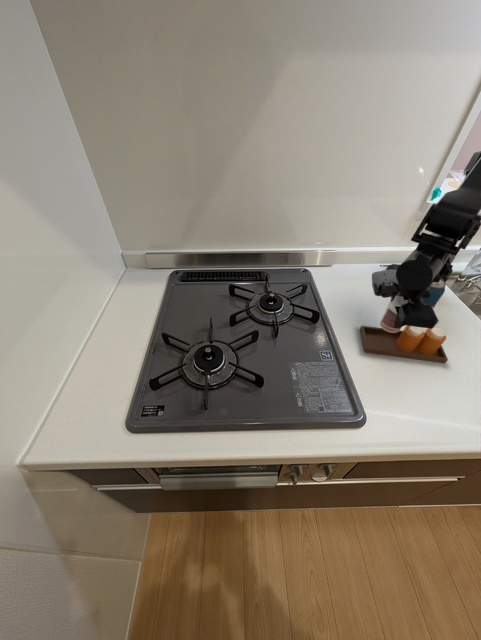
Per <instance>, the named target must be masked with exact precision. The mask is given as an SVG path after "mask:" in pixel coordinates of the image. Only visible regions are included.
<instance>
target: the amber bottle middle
mask: <svg viewBox="0 0 481 640" xmlns="http://www.w3.org/2000/svg"><path fill="white" fill-rule="evenodd" d="M402 331H403V332H402V333H401V335H400V337H399V338H398V340H397V341H396V346H397V347H398V348H399V349H400V350H401V351H403V352H407V353H410V352H413V351H414V349H415V348H416V347H417V345H418V344H419V342H420V341H421V340H422V338H423V337H424V333H425V332H424V328H422V327H414V326H406V325H405V326H404V328H403V330H402Z"/></svg>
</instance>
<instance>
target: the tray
mask: <svg viewBox="0 0 481 640" xmlns="http://www.w3.org/2000/svg"><path fill="white" fill-rule="evenodd" d="M402 332H403V330H401V329H400V331H398V332H396V333H392V332H388V331H386V330H384V329H383V328H382V327H377V326H369V325H361V326H360V328H359V333H360V339H361V344H362V349H363V353H364V354H373V355H380V356H387V357H393V358H402V359H409V360H414V361H415V360H417V361H423V362H430V363H438V364H446V363H447V362H448V361H449V359H448V357H447V354H446V352H445V349H444V348H443V344H442V345H441V346H440V347H439V348H438V350H437V351H436V352H435V353H434V354H433V355H425V354H422V353H421V352H419V351H418V350H417V348H415V349H414V351H413V352H410V353H407V352H403V351H401V350H400V349H399V348H398V347H397V346H396V341H397V340H398V338H399V337H400V335H401V333H402Z"/></svg>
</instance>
